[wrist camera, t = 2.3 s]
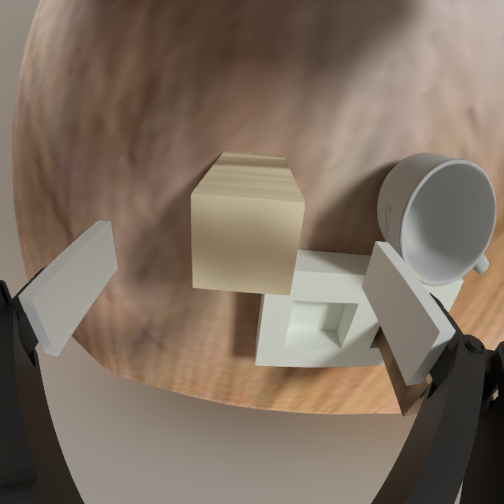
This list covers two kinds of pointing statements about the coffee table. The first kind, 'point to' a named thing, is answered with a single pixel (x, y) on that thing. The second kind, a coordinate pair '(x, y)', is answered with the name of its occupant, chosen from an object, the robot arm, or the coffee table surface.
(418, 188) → the teacup
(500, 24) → the coffee table surface
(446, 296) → the bore block
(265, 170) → the pin
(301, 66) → the coffee table surface
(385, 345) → the walnut pin
